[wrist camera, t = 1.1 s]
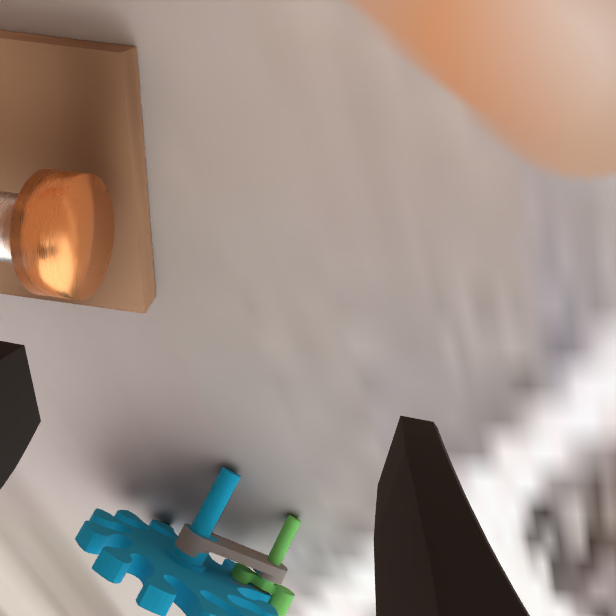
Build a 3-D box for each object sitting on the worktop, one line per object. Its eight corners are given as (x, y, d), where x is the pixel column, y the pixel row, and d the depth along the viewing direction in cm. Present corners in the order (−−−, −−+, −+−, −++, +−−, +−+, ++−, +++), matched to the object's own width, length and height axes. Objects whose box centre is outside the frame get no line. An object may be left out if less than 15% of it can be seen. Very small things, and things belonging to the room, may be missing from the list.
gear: (61, 513, 27) (78, 619, 18) (123, 408, 29) (167, 460, 20) (237, 578, 32) (318, 688, 23) (283, 485, 33) (378, 556, 24)
